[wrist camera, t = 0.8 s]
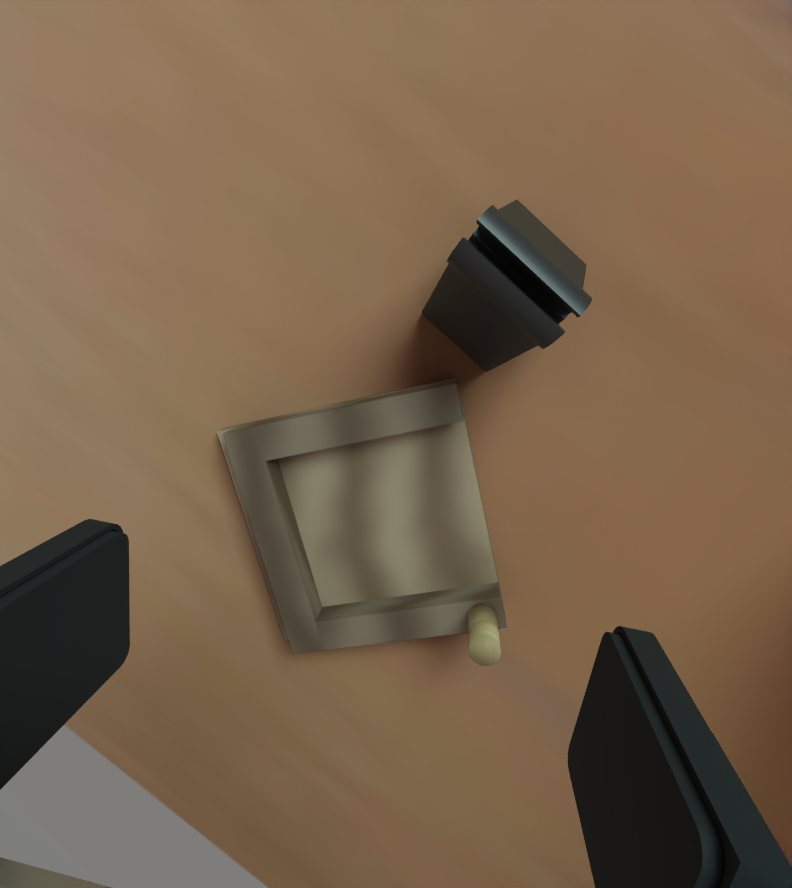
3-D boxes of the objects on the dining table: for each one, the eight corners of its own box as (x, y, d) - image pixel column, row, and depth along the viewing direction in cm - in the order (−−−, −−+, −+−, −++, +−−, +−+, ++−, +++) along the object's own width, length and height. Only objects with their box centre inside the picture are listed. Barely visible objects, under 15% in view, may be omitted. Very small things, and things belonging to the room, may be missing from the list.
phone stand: (486, 371, 34) (498, 401, 22) (421, 312, 33) (399, 311, 22) (585, 266, 31) (656, 239, 20) (516, 200, 31) (549, 133, 19)
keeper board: (456, 377, 34) (454, 393, 27) (503, 604, 38) (512, 666, 31) (223, 428, 37) (170, 453, 31) (288, 632, 41) (255, 694, 35)
